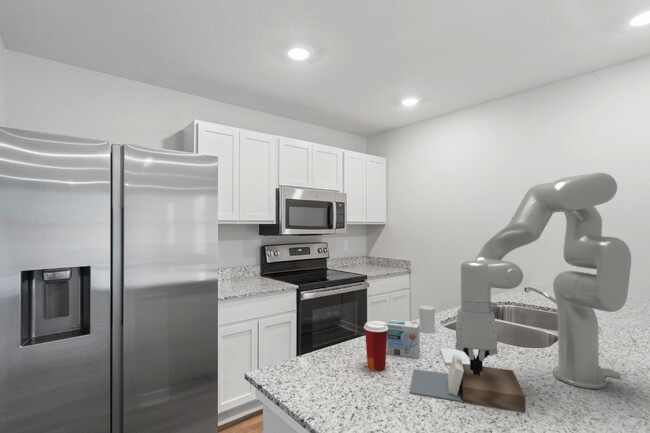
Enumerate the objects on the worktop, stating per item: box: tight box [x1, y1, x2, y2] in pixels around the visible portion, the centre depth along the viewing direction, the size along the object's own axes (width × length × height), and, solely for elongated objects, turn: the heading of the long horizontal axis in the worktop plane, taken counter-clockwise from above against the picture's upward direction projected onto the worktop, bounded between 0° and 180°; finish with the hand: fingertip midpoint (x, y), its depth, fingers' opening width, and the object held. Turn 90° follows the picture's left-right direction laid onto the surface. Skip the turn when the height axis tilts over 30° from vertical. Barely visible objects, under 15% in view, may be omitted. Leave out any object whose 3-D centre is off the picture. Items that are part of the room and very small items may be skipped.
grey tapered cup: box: [418, 305, 436, 334], centre depth 142 cm, size 7×7×10 cm
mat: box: [409, 368, 462, 403], centre depth 94 cm, size 13×15×1 cm
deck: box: [460, 364, 526, 413], centre depth 90 cm, size 14×15×4 cm
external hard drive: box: [439, 347, 470, 367], centre depth 113 cm, size 2×8×12 cm
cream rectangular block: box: [447, 354, 464, 396], centre depth 92 cm, size 7×10×2 cm
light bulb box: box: [386, 318, 421, 360], centre depth 118 cm, size 11×7×11 cm, turn 68°
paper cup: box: [363, 320, 388, 373], centre depth 106 cm, size 8×8×14 cm
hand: (476, 373), depth 91 cm, fingers closed
